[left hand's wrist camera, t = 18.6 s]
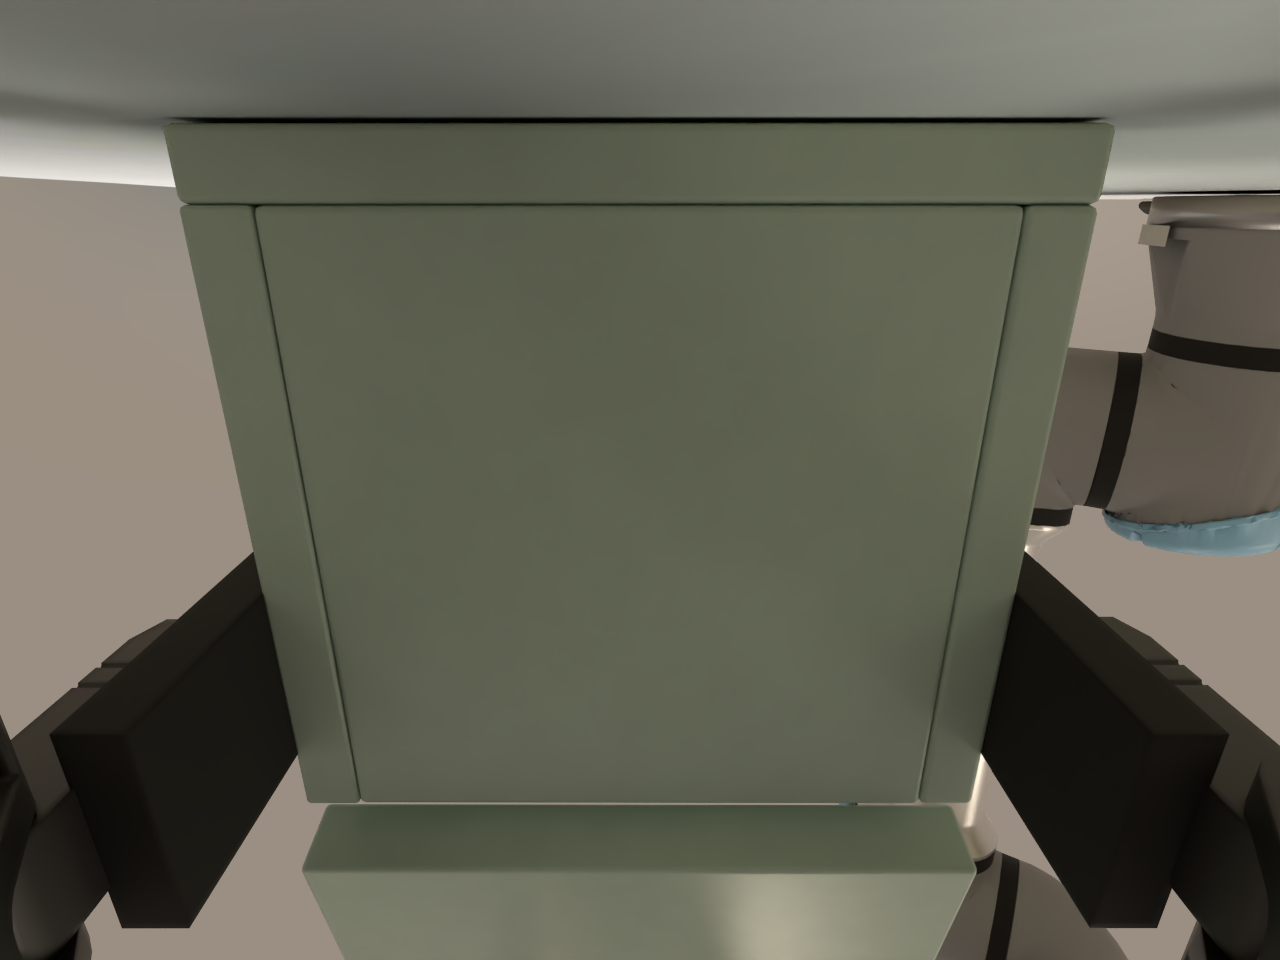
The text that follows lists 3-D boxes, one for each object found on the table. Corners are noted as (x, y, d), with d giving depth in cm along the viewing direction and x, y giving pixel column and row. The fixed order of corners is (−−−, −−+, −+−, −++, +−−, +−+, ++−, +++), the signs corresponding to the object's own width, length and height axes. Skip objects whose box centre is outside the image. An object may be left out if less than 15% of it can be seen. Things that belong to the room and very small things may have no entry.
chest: (822, 177, 20) (796, 489, 23) (458, 177, 20) (484, 489, 23) (1121, 121, 7) (972, 805, 11) (156, 121, 7) (306, 804, 11)
